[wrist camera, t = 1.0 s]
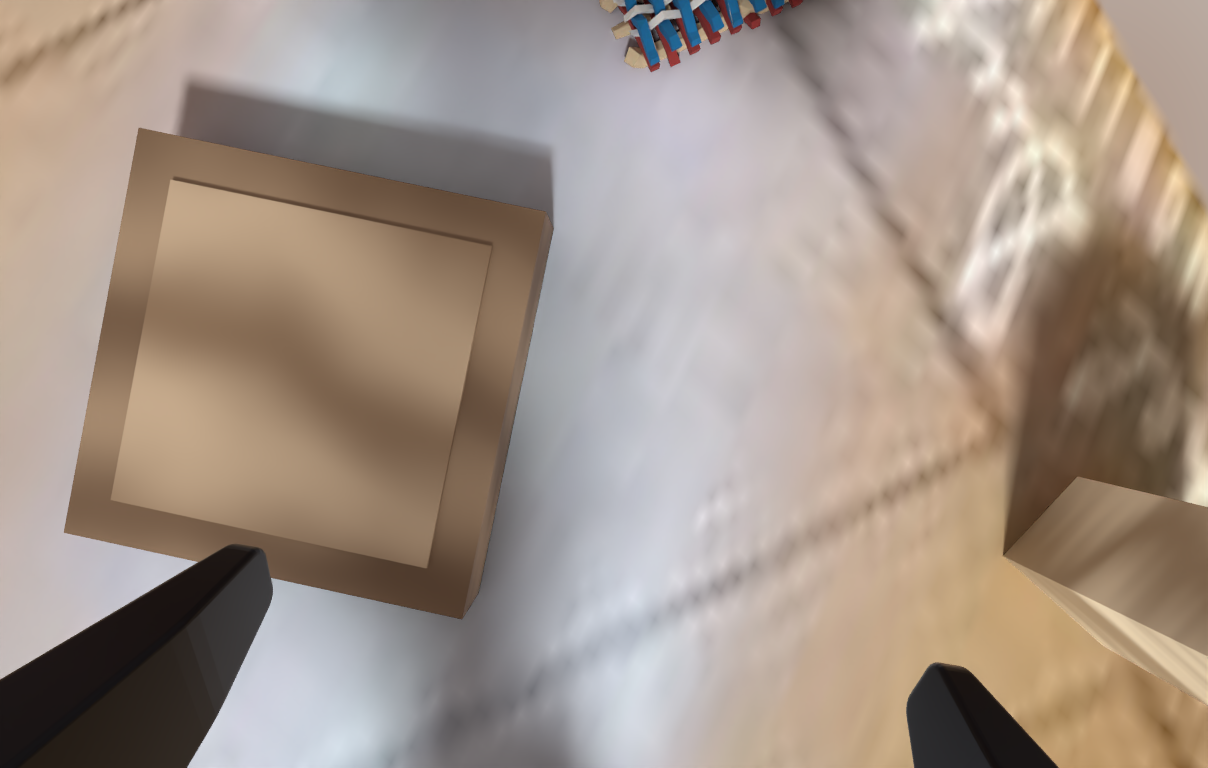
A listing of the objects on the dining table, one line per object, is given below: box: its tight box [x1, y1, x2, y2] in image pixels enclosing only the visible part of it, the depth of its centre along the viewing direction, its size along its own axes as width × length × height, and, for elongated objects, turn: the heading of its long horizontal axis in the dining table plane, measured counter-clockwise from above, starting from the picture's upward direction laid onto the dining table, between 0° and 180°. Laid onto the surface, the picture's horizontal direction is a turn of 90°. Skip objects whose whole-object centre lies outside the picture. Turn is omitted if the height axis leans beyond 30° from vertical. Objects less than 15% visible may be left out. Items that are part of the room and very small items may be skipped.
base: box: [64, 128, 554, 619], centre depth 22 cm, size 14×14×3 cm
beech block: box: [1003, 476, 1208, 706], centre depth 19 cm, size 4×5×9 cm
